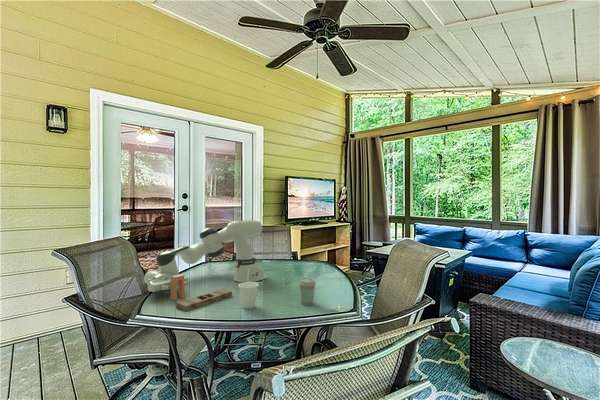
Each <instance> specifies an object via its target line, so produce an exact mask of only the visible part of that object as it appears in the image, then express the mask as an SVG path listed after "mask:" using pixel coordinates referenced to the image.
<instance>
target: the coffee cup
mask: <svg viewBox="0 0 600 400" xmlns="http://www.w3.org/2000/svg"><path fill="white" fill-rule="evenodd" d="M298 285H299V294H300V295H299V296H300V304H301V305H303V306H312V305H314V295H315V288H316V281H315V279H314V278H307V277H305V278H301V279H299V283H298Z"/></svg>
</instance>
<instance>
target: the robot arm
mask: <svg viewBox="0 0 600 400" xmlns="http://www.w3.org/2000/svg"><path fill="white" fill-rule="evenodd" d="M262 231H263V224H262V223H261V221H259V220H251V219H250V220H235V221H231V222H229V223H228V224H227V225H226V226H225V227H223V228H222V229H221V230H219V231H217V229H216V228H213V227H208V228H204V229H203V230H201V232H199V238H200V239H201V241H202V242H198V243H197V242H196V243H195V244H192V245H191V246H189V245H182V246H177V247H175V248H173V249H170V250H166V251H162V252H160V253H159V254H158V255H157V257H156V258H155V260H156V263H157V265H158V269H159V270H148V271H147V272H146V273H145V274H144V277H143V279H144V280H143V281H144V283H145V284H147V291H148V292H152V293H153V292H159V291H167V290H171V276H175V275H180V272H179V268H178V264H177V261H176V256H180V258H181V260H182V261H183V262H184V263H185V264H187V265H188V264H189V265H194V264H196V263H197V262H198V261H201V259H202V258H203V257H204V256H206V255H207V257H210V258H213V259H215V258H219V257H222V255H223V254H224V253H225V247H224V246H223V244H222V243H231V242H233V243H234V245H235V260H234V261H235V262H234V263H235V265H234V266H235V271H234V276H233V281H234V282H238V283H244V282H259V281H262V280H266V279H268V275H267V274H265V271H264V268H263V267H261V265H259V264H258V263H256V262H258V261H259V258H257V257H256V258H255V257H254V246H253V245H252V244H251V243H250V242H249V241H248V238H253V237H256V236H259V235H260V234H262ZM188 282H189V278H188V276H185V286H186V285H188ZM177 287H178V281H177Z"/></svg>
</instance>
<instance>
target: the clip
mask: <svg viewBox="0 0 600 400" xmlns="http://www.w3.org/2000/svg"><path fill="white" fill-rule="evenodd" d="M185 277H186V276H185V274H181V273H179V275H175V276H171V288H170V300H172V301H176V300H178V297H179V298H180V299H184V298H185V287H186V285H185ZM177 281H178V286H177Z"/></svg>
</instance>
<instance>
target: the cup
mask: <svg viewBox="0 0 600 400" xmlns="http://www.w3.org/2000/svg"><path fill="white" fill-rule="evenodd" d="M238 289H239V294H240V302H241V307H242V308H243V309H246V310H249V309H254V308H255V305H256V301H257V299H256V298H257V294H258V289H259V282H257V281H255V282H239V283H238Z"/></svg>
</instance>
